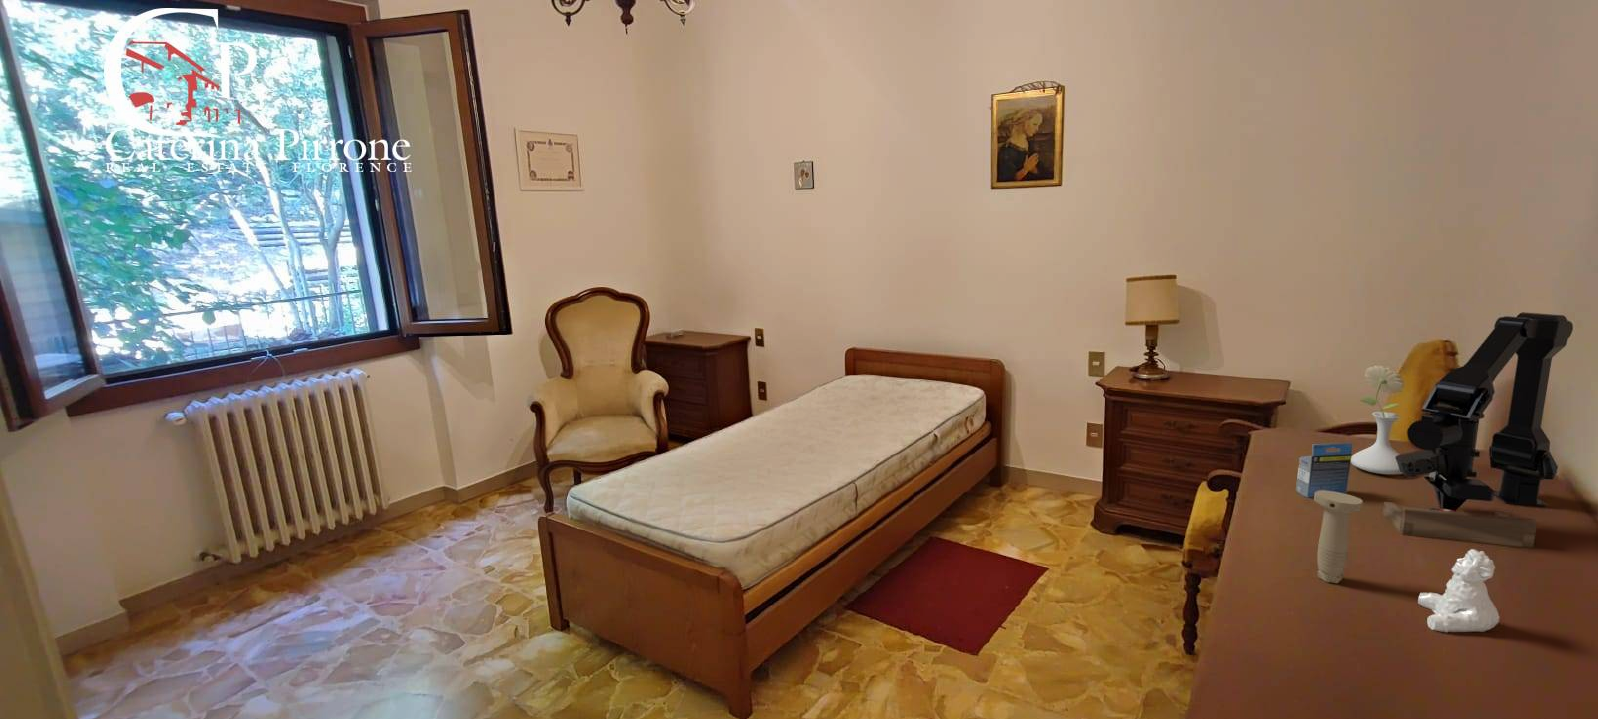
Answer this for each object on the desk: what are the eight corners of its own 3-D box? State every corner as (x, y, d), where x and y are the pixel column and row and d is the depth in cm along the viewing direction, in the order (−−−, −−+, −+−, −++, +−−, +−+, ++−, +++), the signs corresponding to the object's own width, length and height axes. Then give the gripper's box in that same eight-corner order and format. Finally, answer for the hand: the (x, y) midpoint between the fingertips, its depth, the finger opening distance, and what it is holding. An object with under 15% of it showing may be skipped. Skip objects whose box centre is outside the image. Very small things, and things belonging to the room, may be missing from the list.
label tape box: (1333, 489, 158) (1338, 437, 156) (1347, 496, 154) (1353, 442, 152) (1294, 491, 158) (1299, 439, 156) (1308, 498, 154) (1313, 444, 152)
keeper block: (1382, 513, 145) (1385, 490, 144) (1503, 524, 138) (1506, 500, 137) (1402, 534, 135) (1405, 510, 135) (1533, 547, 128) (1537, 522, 127)
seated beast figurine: (1414, 600, 113) (1423, 531, 111) (1486, 613, 109) (1497, 541, 107) (1428, 630, 105) (1439, 556, 103) (1507, 645, 101) (1520, 568, 99)
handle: (1346, 591, 117) (1356, 506, 114) (1302, 577, 122) (1310, 495, 119) (1357, 582, 119) (1366, 498, 117) (1312, 568, 125) (1321, 488, 122)
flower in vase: (1424, 478, 162) (1437, 372, 157) (1373, 479, 162) (1386, 374, 158) (1378, 459, 175) (1390, 361, 170) (1332, 461, 175) (1342, 363, 170)
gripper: (1386, 425, 148) (1378, 495, 151) (1423, 453, 131) (1413, 531, 134) (1453, 429, 144) (1444, 501, 147) (1501, 458, 127) (1488, 538, 130)
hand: (1445, 517), depth 140 cm, fingers closed
